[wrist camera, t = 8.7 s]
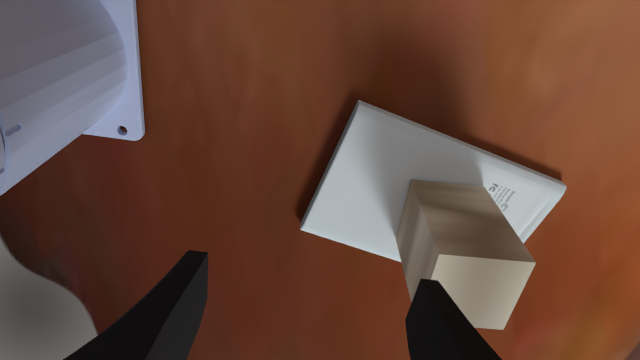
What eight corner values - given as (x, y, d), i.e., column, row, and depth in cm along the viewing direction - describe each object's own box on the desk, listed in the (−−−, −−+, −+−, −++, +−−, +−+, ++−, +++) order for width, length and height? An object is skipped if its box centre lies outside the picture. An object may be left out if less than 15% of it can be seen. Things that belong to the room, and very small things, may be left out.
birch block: (395, 239, 23) (416, 322, 18) (410, 179, 21) (439, 254, 16) (463, 245, 24) (503, 329, 18) (484, 186, 22) (535, 262, 16)
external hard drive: (356, 94, 21) (555, 174, 23) (300, 216, 25) (476, 275, 27) (359, 105, 19) (571, 189, 22) (299, 232, 23) (485, 293, 25)
